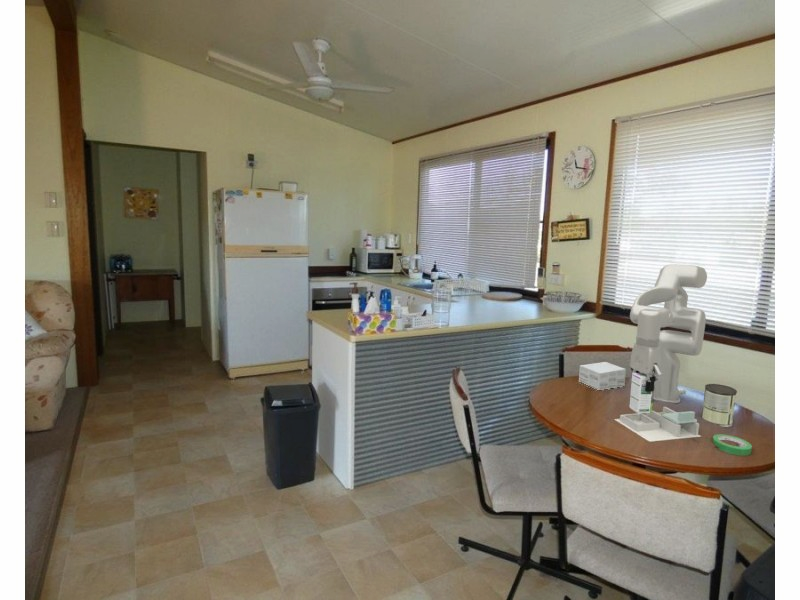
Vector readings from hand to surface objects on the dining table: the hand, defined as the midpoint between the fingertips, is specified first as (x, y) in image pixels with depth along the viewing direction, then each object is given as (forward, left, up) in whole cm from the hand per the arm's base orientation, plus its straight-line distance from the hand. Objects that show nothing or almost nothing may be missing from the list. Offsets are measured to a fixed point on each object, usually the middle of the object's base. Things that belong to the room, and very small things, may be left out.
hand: (642, 387), depth 170 cm
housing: (-5, +3, -16) cm, 17 cm away
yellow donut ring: (-11, 0, -15) cm, 19 cm away
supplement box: (-17, -46, -17) cm, 51 cm away
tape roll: (-21, +20, -17) cm, 33 cm away
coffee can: (-35, +1, -16) cm, 39 cm away
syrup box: (0, 0, -9) cm, 9 cm away
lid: (-11, +7, -10) cm, 17 cm away
